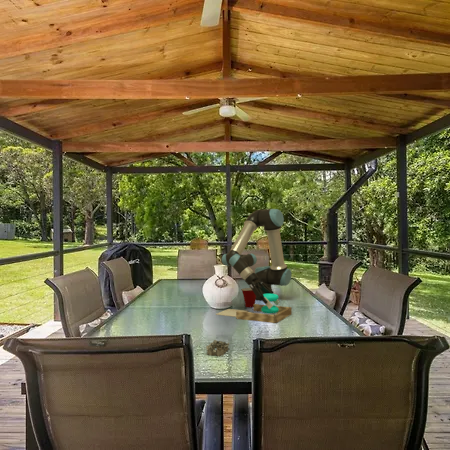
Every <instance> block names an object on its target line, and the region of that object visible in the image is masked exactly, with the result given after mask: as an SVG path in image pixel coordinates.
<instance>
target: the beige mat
mask: <svg viewBox="0 0 450 450" xmlns="http://www.w3.org/2000/svg"><path fill="white" fill-rule="evenodd" d="M237 311H241V312H249V310H243V309H235V308H233V309H232V308H228V309H225V310H222V311H220V312H216V313H215V315H216V316H225V317H233V318H236V312H237Z"/></svg>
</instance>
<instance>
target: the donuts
mask: <svg viewBox="0 0 450 450" xmlns="http://www.w3.org/2000/svg"><path fill="white" fill-rule="evenodd" d="M263 295H264V297H266V298H267V299H268V300H269V302H270V303H272V302H273V303H274V301H276V300H279V298H280V297H279V295H278V294H276V293H273V294H263ZM264 305H265V306H263V307H262V308H261V311H262V314H270V315H273V314H277V312H278V311H279V308H278V307H277V306H278V305H276V304H272V305H273V306H272V307H271V308H270V309H269V308H268V307H267V306H266V304H264Z"/></svg>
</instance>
